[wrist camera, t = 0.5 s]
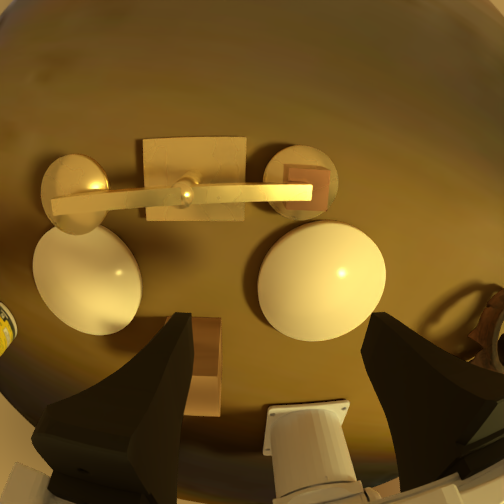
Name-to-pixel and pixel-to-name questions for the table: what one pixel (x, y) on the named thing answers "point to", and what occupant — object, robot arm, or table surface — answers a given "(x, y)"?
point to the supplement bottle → (6, 328)
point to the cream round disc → (88, 279)
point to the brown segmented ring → (490, 335)
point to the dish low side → (320, 280)
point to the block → (205, 368)
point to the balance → (190, 184)
